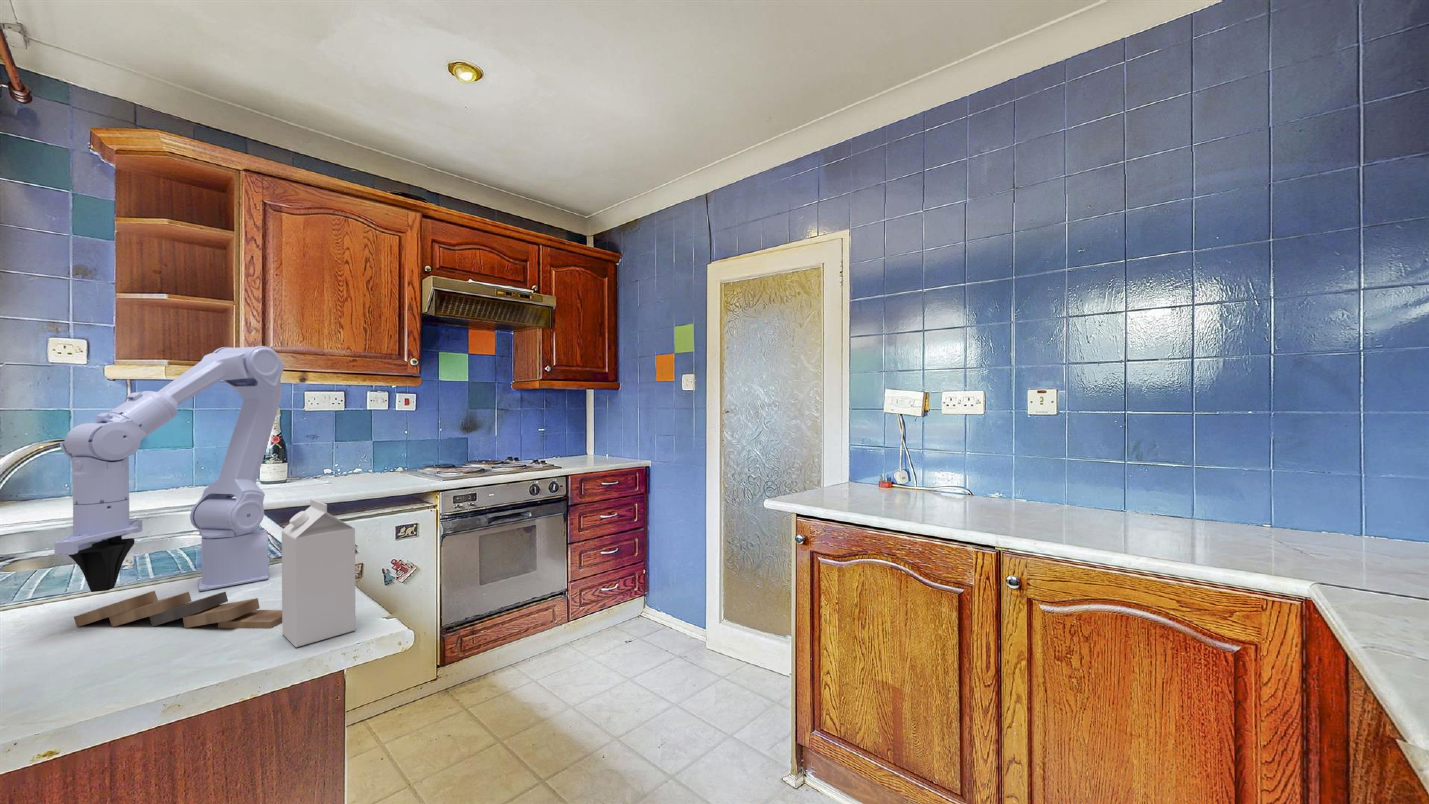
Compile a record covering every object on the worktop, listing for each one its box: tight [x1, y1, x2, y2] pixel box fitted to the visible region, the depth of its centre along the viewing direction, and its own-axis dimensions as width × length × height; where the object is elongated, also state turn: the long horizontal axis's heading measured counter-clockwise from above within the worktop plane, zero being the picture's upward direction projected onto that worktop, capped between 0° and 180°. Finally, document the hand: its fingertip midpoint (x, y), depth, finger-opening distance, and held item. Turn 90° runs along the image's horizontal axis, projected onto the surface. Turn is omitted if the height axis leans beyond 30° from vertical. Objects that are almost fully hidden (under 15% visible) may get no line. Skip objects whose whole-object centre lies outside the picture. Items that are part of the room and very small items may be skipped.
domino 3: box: [182, 597, 260, 629], centre depth 82 cm, size 4×2×8 cm
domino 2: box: [108, 591, 192, 628], centre depth 83 cm, size 4×2×8 cm
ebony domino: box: [149, 591, 229, 627], centre depth 82 cm, size 4×2×8 cm
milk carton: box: [281, 498, 357, 648], centre depth 78 cm, size 7×7×19 cm
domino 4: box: [217, 609, 282, 629], centre depth 82 cm, size 4×2×8 cm
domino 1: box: [73, 590, 159, 628], centre depth 83 cm, size 4×2×8 cm
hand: (102, 589), depth 83 cm, fingers closed
